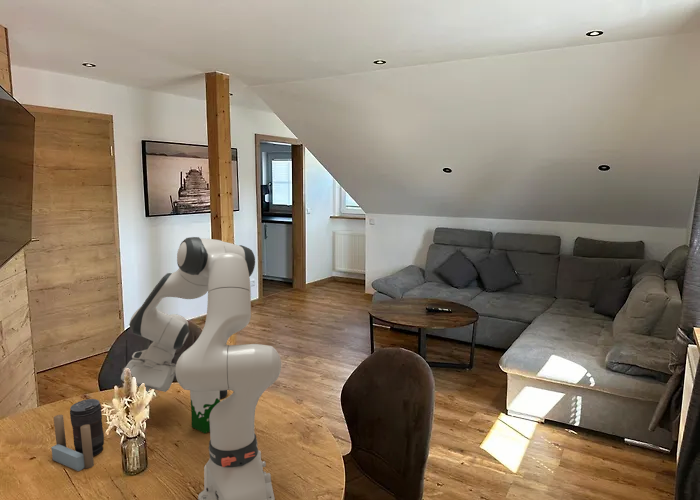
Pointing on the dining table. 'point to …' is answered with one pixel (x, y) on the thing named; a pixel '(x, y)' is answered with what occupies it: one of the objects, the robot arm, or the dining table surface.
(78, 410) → the camera lens
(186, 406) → the dining table surface
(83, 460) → the peg rail
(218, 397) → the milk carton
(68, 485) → the dining table surface
